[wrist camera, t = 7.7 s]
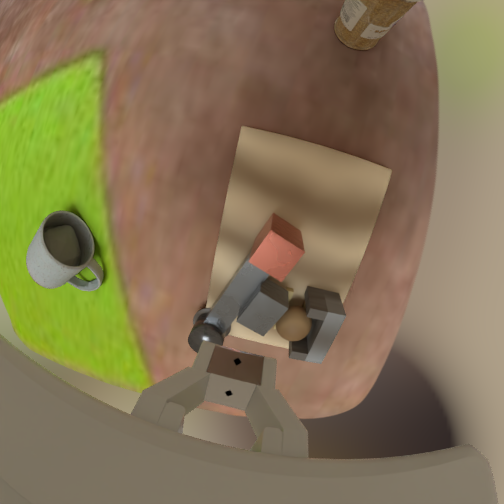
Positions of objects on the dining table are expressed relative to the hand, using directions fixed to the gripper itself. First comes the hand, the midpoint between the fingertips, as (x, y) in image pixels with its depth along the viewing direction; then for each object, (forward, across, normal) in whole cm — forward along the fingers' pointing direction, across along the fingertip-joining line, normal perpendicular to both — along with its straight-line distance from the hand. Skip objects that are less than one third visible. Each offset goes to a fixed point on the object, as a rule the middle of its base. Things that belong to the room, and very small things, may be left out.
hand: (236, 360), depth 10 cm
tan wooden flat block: (+18, -3, +2) cm, 18 cm away
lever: (+16, 0, +6) cm, 17 cm away
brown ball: (+16, -5, +7) cm, 18 cm away
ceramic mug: (+18, +22, +9) cm, 30 cm away
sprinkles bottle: (+18, -4, -22) cm, 29 cm away
